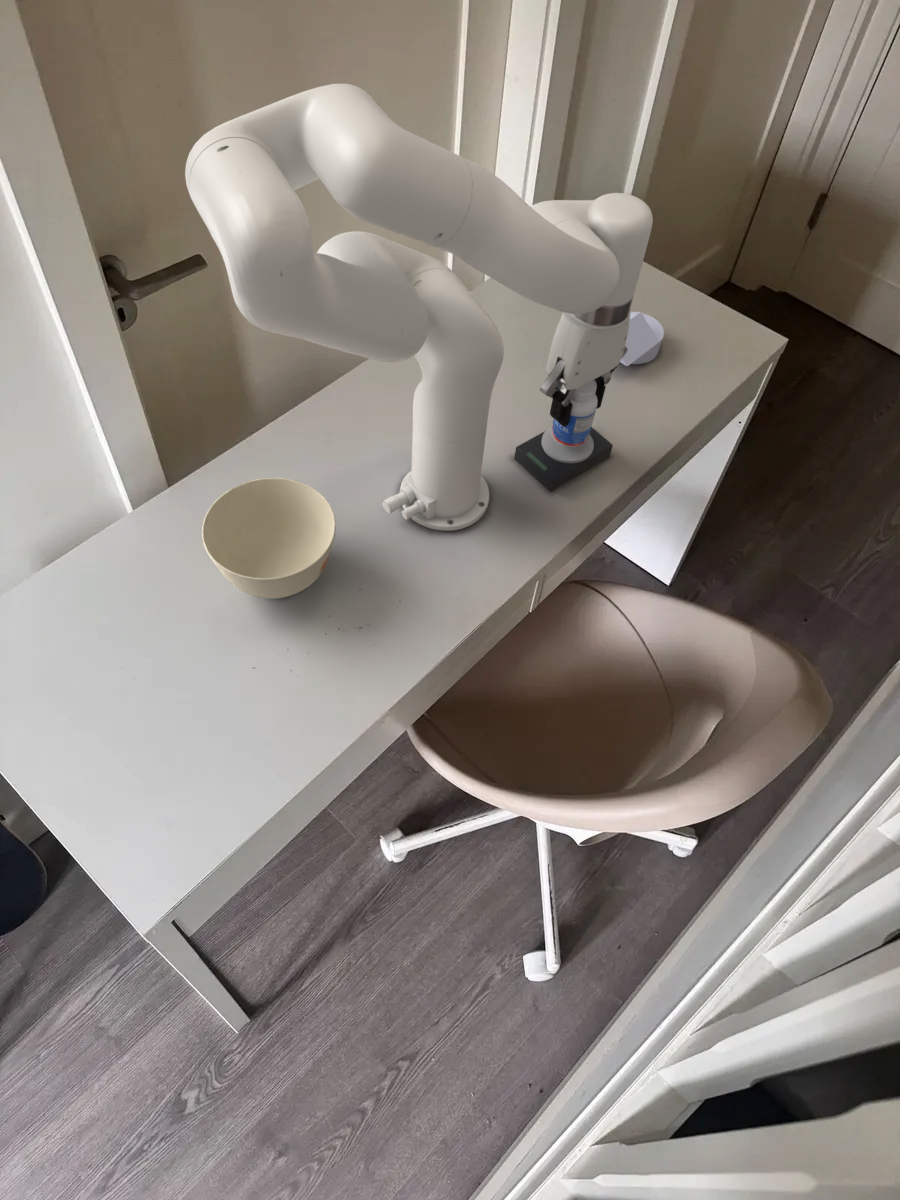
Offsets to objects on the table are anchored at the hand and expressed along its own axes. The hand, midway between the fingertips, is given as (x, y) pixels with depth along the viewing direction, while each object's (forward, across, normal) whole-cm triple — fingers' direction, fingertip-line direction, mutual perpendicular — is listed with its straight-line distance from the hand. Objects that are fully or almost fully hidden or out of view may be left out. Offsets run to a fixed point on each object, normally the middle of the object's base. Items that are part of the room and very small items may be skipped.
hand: (575, 410), depth 120 cm
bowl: (+9, +46, -6) cm, 47 cm away
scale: (+9, 0, 0) cm, 9 cm away
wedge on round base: (+9, -24, -12) cm, 29 cm away
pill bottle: (+5, 0, 0) cm, 5 cm away
